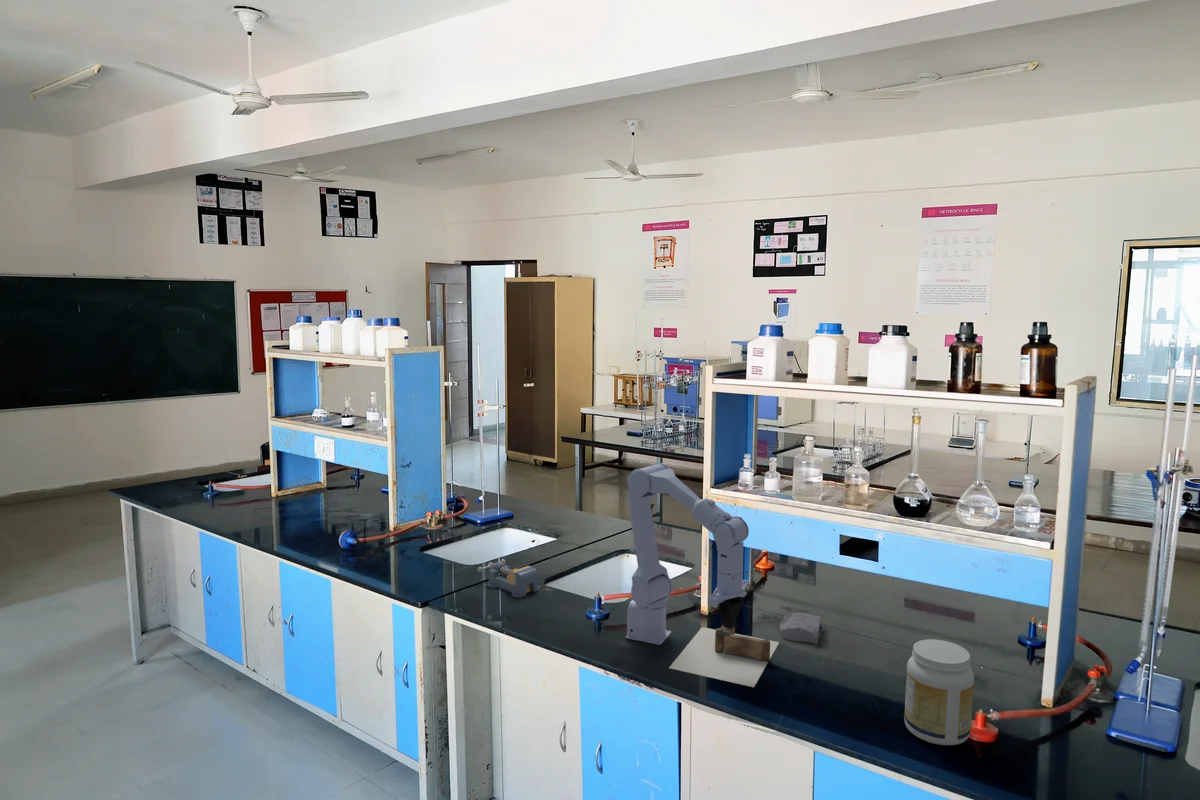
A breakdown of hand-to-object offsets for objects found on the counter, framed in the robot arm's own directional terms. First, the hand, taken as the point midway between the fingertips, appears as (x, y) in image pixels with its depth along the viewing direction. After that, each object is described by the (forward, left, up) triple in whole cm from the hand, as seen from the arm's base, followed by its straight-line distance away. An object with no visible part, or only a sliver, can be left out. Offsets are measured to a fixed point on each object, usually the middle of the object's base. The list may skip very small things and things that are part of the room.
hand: (728, 627), depth 179 cm
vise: (-73, +20, -10) cm, 76 cm away
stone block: (+11, +25, -10) cm, 30 cm away
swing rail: (+2, +6, -9) cm, 11 cm away
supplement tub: (+45, -7, -10) cm, 47 cm away
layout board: (-2, +5, -10) cm, 11 cm away
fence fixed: (-4, +11, -9) cm, 15 cm away
